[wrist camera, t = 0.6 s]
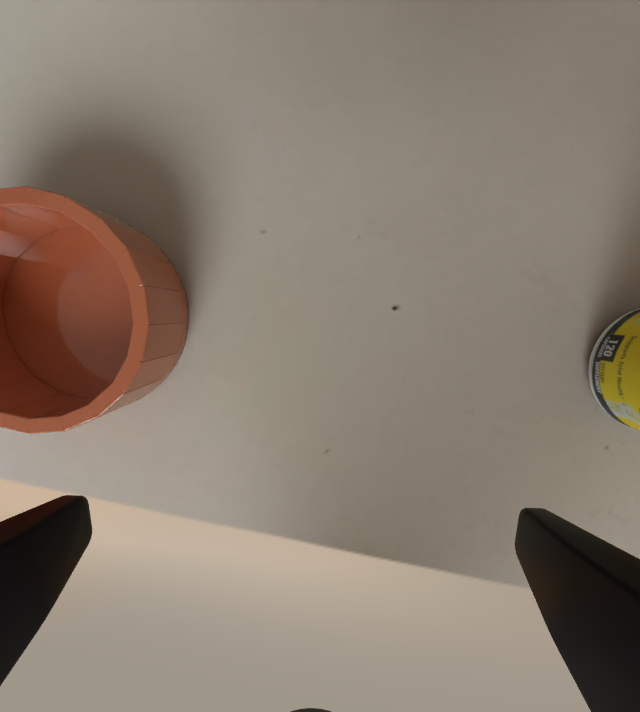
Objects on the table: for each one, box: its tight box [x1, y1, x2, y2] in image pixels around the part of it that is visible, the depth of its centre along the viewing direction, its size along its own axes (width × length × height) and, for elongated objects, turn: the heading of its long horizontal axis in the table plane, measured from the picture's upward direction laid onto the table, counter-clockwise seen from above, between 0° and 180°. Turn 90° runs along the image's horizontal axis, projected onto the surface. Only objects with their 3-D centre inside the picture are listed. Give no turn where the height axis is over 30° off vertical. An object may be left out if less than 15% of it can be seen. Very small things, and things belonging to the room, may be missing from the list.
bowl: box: [0, 186, 188, 433], centre depth 18 cm, size 10×10×4 cm
